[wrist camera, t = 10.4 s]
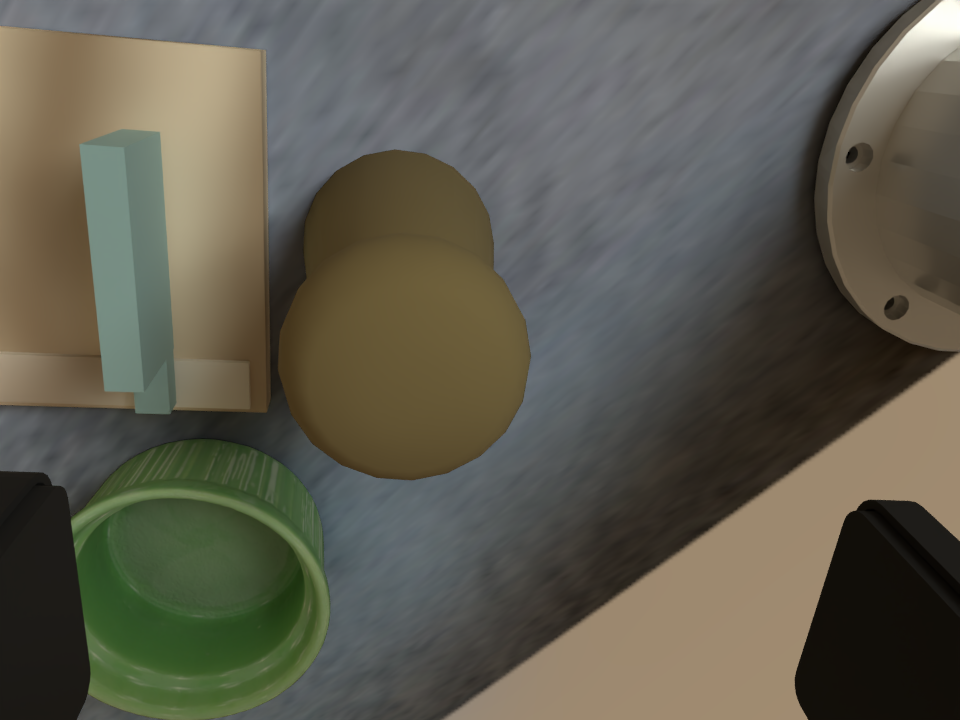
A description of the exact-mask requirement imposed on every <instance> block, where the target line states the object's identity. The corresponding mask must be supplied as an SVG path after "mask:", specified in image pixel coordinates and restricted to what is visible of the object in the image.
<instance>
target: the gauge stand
mask: <svg viewBox="0 0 960 720" xmlns="http://www.w3.org/2000/svg"><path fill="white" fill-rule="evenodd" d="M120 129H129V130H142V131H155V132H160V139H161V154H162V170H163V185H164V201H165V217H166V232H167V248H168V263H169V279H170V294H171V310H172V326H173V341H174V349H173V355H174V371H175V386H176V401H177V403H176V405H175V407H174V408H173V410H195V411H229V412H263V413H267V410H268V407H269V404H270V400H271V376H270V305H269V235H268V164H267V93H266V50H259V49H248V48H237V47H226V46H215V45H204V44H193V43H182V42H171V41H160V40H149V39H138V38H127V37H116V36H105V35H94V34H84V33H73V32H62V31H51V30H40V29H29V28H18V27H7V26H0V405H25V406H59V407H93V408H127V409H135V402H134V392H111V391H105V390H104V380H103V370H102V360H101V351H100V341H99V331H98V321H97V312H96V302H95V292H94V282H93V273H92V263H91V253H90V243H89V234H88V224H87V214H86V205H85V195H84V185H83V175H82V166H81V156H80V146H79V144H81V143H84V142H87V141H90V140H93V139H95V138H98V137H101V136H104V135H106V134H109V133H112V132H115V131H117V130H120Z"/></svg>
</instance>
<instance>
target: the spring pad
mask: <svg viewBox="0 0 960 720" xmlns="http://www.w3.org/2000/svg"><path fill="white" fill-rule="evenodd" d="M79 146H80V156H81V166H82V175H83V185H84V195H85V205H86V214H87V224H88V234H89V243H90V253H91V263H92V273H93V282H94V292H95V302H96V312H97V321H98V331H99V341H100V351H101V360H102V370H103V380H104V390H105V391H111V392H134V402H135V413H143V414H171V412H172V410H173V408H174V407H175V405H176V403H177V401H176V386H175V371H174V355H173V349H174V341H173V326H172V310H171V294H170V279H169V263H168V248H167V232H166V217H165V201H164V185H163V170H162V154H161V139H160V132H155V131H142V130H129V129H120V130H117V131H115V132H112V133H109V134H106V135H104V136H101V137H98V138H95V139H93V140H90V141H87V142H84V143H81V144H79Z"/></svg>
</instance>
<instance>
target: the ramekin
mask: <svg viewBox="0 0 960 720" xmlns="http://www.w3.org/2000/svg"><path fill="white" fill-rule="evenodd" d="M71 525H72V533H73V540H74V548H75V555H76V563H77V570H78V578H79V585H80V593H81V600H82V608H83V615H84V623H85V631H86V638H87V646H88V653H89V661H90V671H91V676H90V685H89V690H88V694H89V695H90V696H92V697H94V698H96V699H98V700H99V701H101V702H104V703H106V704H108V705H110V706H113V707H116V708H118V709H121V710H124V711H127V712H131V713H134V714H137V715H142V716H146V717H150V718H158V719H166V720H205V719H213V718H219V717H225V716H229V715H233V714H237V713H239V712H243V711H246V710H249V709H251V708H254V707H257V706H259V705H261V704H263V703H265V702H267V701H269V700H271V699H273V698H275V697H276V696H278V695H279V694H281V693H282V692H284V691H285V690H286V689H288V688H289V687H290V686H291V685H293V684H294V683H295V682H296V681H297V680H298V679H299V678H300V677H301V676H302V675H303V674H304V673H305V672H306V670H307V669H308V668H309V667H310V666H311V664H312V663H313V661H314V660H315V658H316V657H317V655H318V653H319V651H320V649H321V647H322V645H323V643H324V640H325V637H326V634H327V630H328V626H329V620H330V594H329V588H328V582H327V578H326V575H325V572H324V541H323V531H322V524H321V520H320V517H319V514H318V510H317V508H316V505H315V503H314V501H313V499H312V497H311V495H310V494H309V492H308V491H307V490H306V488H305V487H304V485H303V484H302V482H301V481H300V480H299V479H298V478H297V477H296V476H295V475H294V474H293V473H292V472H291V471H290V470H289V469H288V468H286V467H285V466H284V465H283V464H281V463H280V462H278V461H277V460H275V459H273V458H272V457H270V456H268V455H266V454H264V453H263V452H261V451H258V450H256V449H253V448H251V447H248V446H244V445H240V444H237V443H232V442H227V441H221V440H213V439H190V440H182V441H176V442H171V443H166V444H164V445H161V446H157V447H154V448H151V449H149V450H147V451H145V452H143V453H141V454H139V455H137V456H135V457H134V458H132V459H130V460H129V461H127V462H126V463H124V464H123V465H122V466H121V467H119V468H118V469H117V470H116V471H115V472H114V473H113V474H112V475H111V476H110V477H109V478H108V479H107V480H106V481H105V482H104V484H103V485H102V486H101V488H100V489H99V490H98V491H97V492H96V494H95V495H94V496H93V497H92V499H91V500H90V501H89V502H88V504H87V505H86V506H85V508H83V509H82V510H80V511H79V512H78V513H77V514H75V515H74V516H73V517H72V518H71Z"/></svg>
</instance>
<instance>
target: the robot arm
mask: <svg viewBox="0 0 960 720" xmlns="http://www.w3.org/2000/svg"><path fill="white" fill-rule="evenodd" d="M849 150H850V155H849V157H848V158H847V159H846V155H847V153H848V152H849ZM814 204H815V218H816V232H817V237H818V240H819V244H820V247H821V251H822V254H823V258H824V262H825V265H826V267H827V269H828V270H829V272H830V274H831V276H832V278H833V280H834V281H835V283H836V285H837V287H838V289H839V291H840V292H841V293H842V294H843V295H844V297H845V298H846V299H847V300H848V301H849V302H850V303H851V304H852V305H853V307H854V308H855V309H856V310H857V311H858V312H859V313H860V314H861V315H863V316H864V317H866V318H867V319H869V320H870V321H872V322H873V323H875V324H876V325H878V326H879V327H880V328H882V329H883V330H885V331H887V332H889V333H891V334H893V335H895V336H897V337H899V338H901V339H903V340H905V341H906V342H908V343H911V344H915V345H918V346H922V347H926V348H930V349H934V350H938V351H955V352H960V0H921V1H920V2H919V3H917V4H916V5H915V6H914V7H912V8H911V9H910V10H909V11H907V12H906V13H905V14H903V15H902V16H901V17H900V19H899V20H898V21H897V22H896V23H895V24H894V25H893V26H892V27H891V28H890V29H889V30H888V31H887V33H886V34H885V35H884V36H883V37H882V38H881V39H880V40H879V41H878V42H877V43H876V44H875V46H874V47H873V48H872V49H871V51H870V52H869V54H868V55H867V57H866V58H865V59H864V61H863V62H862V64H861V65H860V67H859V68H858V70H857V71H856V73H855V74H854V76H853V77H852V79H851V80H850V82H849V83H848V85H847V87H846V89H845V91H844V93H843V95H842V97H841V100H840V102H839V104H838V106H837V108H836V110H835V112H834V114H833V116H832V118H831V121H830V123H829V126H828V130H827V133H826V137H825V140H824V144H823V147H822V150H821V154H820V157H819V161H818V169H817V178H816V186H815V195H814ZM90 676H91V671H90V661H89V653H88V646H87V638H86V631H85V623H84V615H83V608H82V600H81V593H80V585H79V578H78V570H77V563H76V555H75V548H74V540H73V533H72V525H71V518H70V510H69V503H68V497H67V493H66V491H65V489H64V488H63V487H61V486H52V484H51V481H50V479H49V477H48V475H46V474H44V473H39V472H9V471H0V720H77V718H78V716H79V713H80V711H81V709H82V707H83V705H84V703H85V700H86V697H87V694H88V690H89V685H90ZM795 689H796V695H797V699H798V701H799V704H800V706H801V707H802V709H803V711H804V713H805V715H806V716H807V718H808V720H960V541H959V540H958V539H957V538H956V537H954V536H953V535H952V534H951V533H950V532H949V531H948V530H947V529H946V528H945V527H944V526H943V525H942V524H940V523H939V522H938V521H937V520H936V519H935V518H934V517H933V516H932V515H931V514H930V513H928V512H927V510H925V509H924V508H923V507H922V506H920V505H919V504H918V503H916V502H911V501H894V500H893V501H891V500H867V501H864V502H863V503H862V504H861V505H860V506H859V507H858V508H857V510H856V511H853V512H850V513H849V514H848V515H847V516H846V518H845V520H844V523H843V526H842V529H841V532H840V535H839V538H838V542H837V545H836V548H835V551H834V554H833V557H832V561H831V564H830V567H829V570H828V573H827V576H826V579H825V582H824V586H823V589H822V592H821V595H820V598H819V602H818V605H817V608H816V611H815V614H814V617H813V620H812V623H811V626H810V630H809V633H808V636H807V639H806V642H805V645H804V649H803V652H802V655H801V658H800V661H799V664H798V667H797V671H796V675H795Z"/></svg>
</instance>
